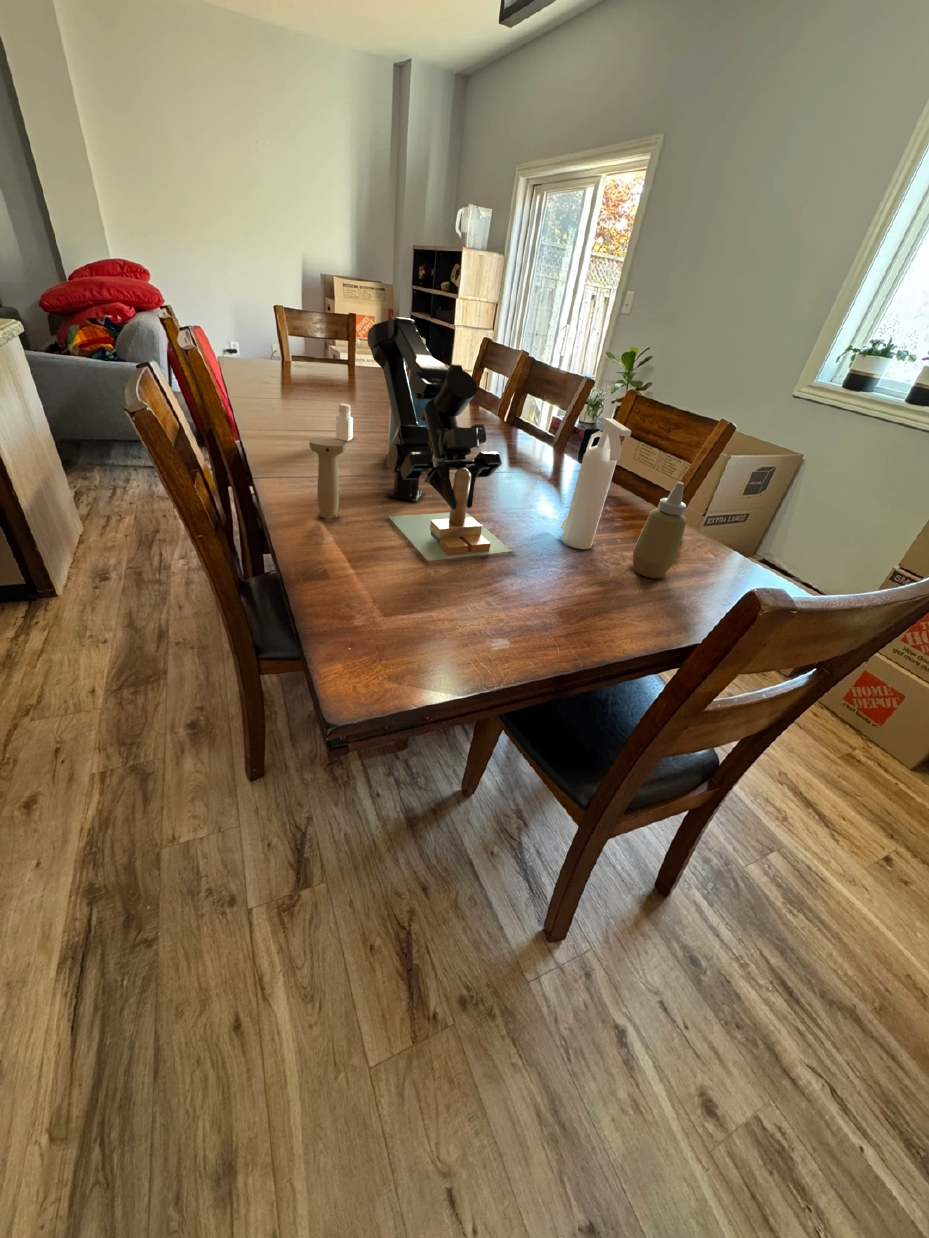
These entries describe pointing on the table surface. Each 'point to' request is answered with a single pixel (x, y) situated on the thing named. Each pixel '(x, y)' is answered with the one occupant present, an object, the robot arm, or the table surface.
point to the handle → (327, 474)
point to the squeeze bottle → (661, 536)
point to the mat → (421, 538)
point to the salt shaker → (344, 423)
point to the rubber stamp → (457, 512)
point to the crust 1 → (453, 545)
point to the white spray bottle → (593, 485)
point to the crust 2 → (476, 543)
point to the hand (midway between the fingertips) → (462, 508)
